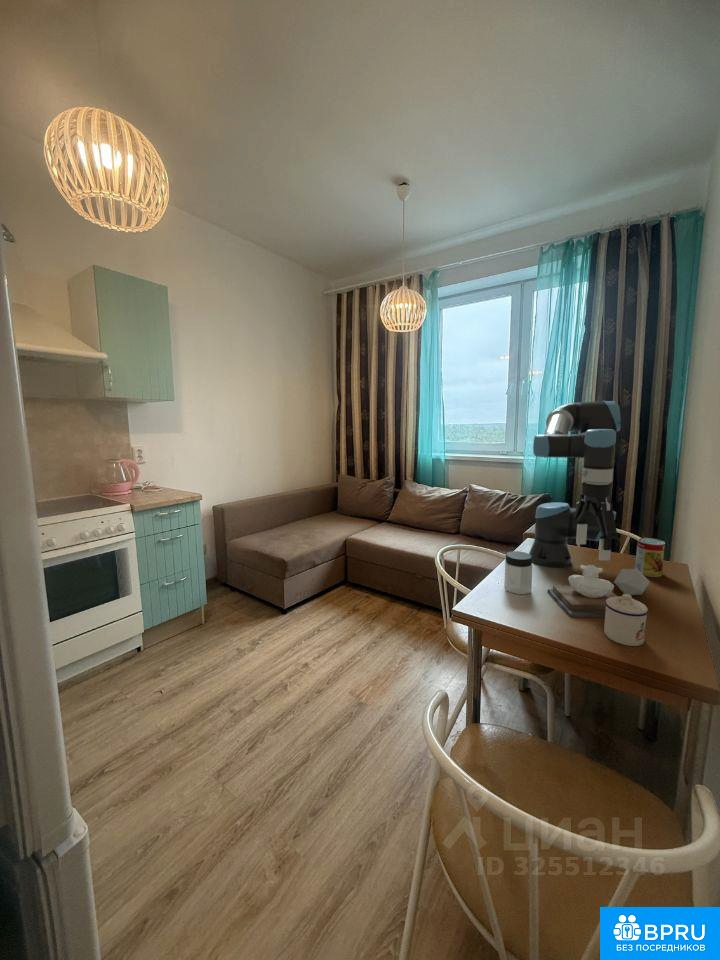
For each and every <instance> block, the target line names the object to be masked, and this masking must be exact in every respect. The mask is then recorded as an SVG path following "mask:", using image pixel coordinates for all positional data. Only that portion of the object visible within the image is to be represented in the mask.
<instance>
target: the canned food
mask: <svg viewBox="0 0 720 960" xmlns="http://www.w3.org/2000/svg"><path fill="white" fill-rule="evenodd" d="M665 547H666V542H665V541H664V540H661V539H657V538H650V537H640V538H638V539H637V544H636V555H635V556H636V557H635V566H634V567H635V568H634V569H638V570H639V571H640V572H641V573H642V574H643V575H644V576H645V577H650V578H660V577H662V576H663V566H664V558H665Z"/></svg>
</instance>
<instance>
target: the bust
mask: <svg viewBox="0 0 720 960" xmlns="http://www.w3.org/2000/svg"><path fill="white" fill-rule="evenodd" d="M579 567H580V569H581V570H582V571H583V572H582V574H581V575H580V574H572V575H570V576H568V578H567V579H568V582H569V586H571V587H572V588H573V589H574V590H576V591H577V592H578V593H580V594H582V595H583V596H586V597H589V598H598V597H603V596H608V595H610V593H611V592H613V591H614V588H615V585H614V584H613V583H612V582H611V581H609V580H608V579H607V580H606V579H603V578H599V577H600V576H599V574H600V573H603V570H604V569H603V567H597V566H595V564H591V563H590V564H586V565H583V564H581V565H579Z"/></svg>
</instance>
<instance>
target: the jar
mask: <svg viewBox="0 0 720 960" xmlns="http://www.w3.org/2000/svg"><path fill="white" fill-rule="evenodd" d="M532 582H533V562H532V556H531V555H530V554H529V553H528V552H523V551H518V550H516V551H515V550H512V551H508V552H506V553H505V560H504V583H503V584H504V588H505V591H506V592H508V591H509V593H512V592H513V593H512V594H515V593H516V594H515V595H519V594H521V595H526V593H527V594H531V593H532V586H533V585H532V584H533V583H532Z"/></svg>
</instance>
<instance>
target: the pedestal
mask: <svg viewBox="0 0 720 960" xmlns="http://www.w3.org/2000/svg"><path fill="white" fill-rule="evenodd" d="M547 593H548V595H550V596H551V598H552V599H553V600H554V601H555V602H556V603H557V605H558V606H560V608H561V609H562V610H563V611H564V612H565V614H566V615H568V617H570V618H571V617H572V618H573V617H575V618H605V613H606V604H605V602H606V600H607V599H608V598H610V597H619V596H618V594H615V593H614V591H612V592H611V593H610V595H608V596H603V597H598V598H589V597H586V596H583V595H582V594H580V593H578V592H577V591H576V590H574V589H573V588H572V587H571V585H554V584H553V586H552V588H551V589H549V588H547Z"/></svg>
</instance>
